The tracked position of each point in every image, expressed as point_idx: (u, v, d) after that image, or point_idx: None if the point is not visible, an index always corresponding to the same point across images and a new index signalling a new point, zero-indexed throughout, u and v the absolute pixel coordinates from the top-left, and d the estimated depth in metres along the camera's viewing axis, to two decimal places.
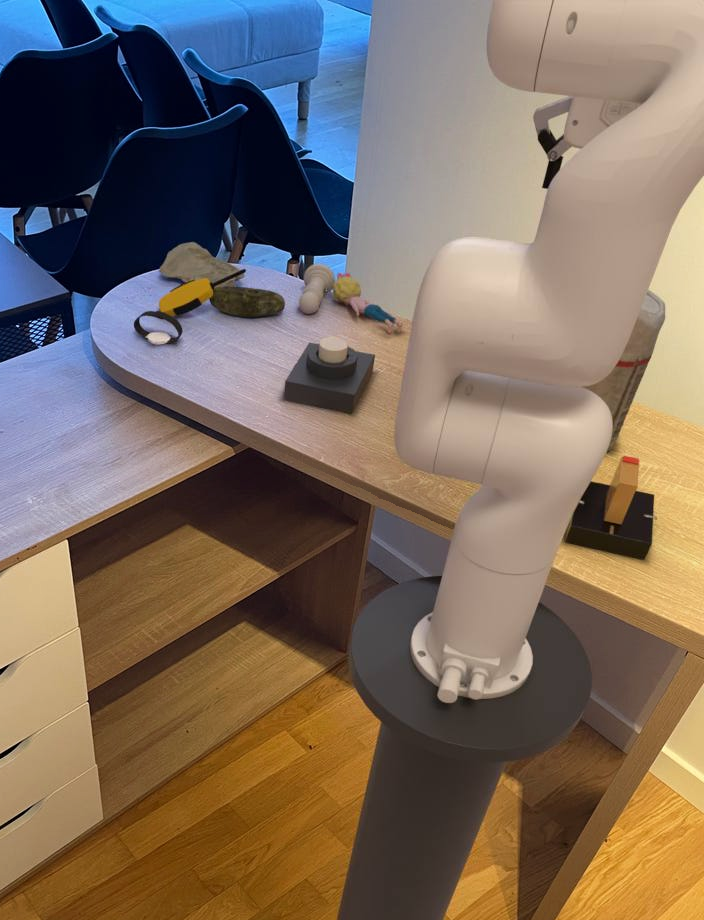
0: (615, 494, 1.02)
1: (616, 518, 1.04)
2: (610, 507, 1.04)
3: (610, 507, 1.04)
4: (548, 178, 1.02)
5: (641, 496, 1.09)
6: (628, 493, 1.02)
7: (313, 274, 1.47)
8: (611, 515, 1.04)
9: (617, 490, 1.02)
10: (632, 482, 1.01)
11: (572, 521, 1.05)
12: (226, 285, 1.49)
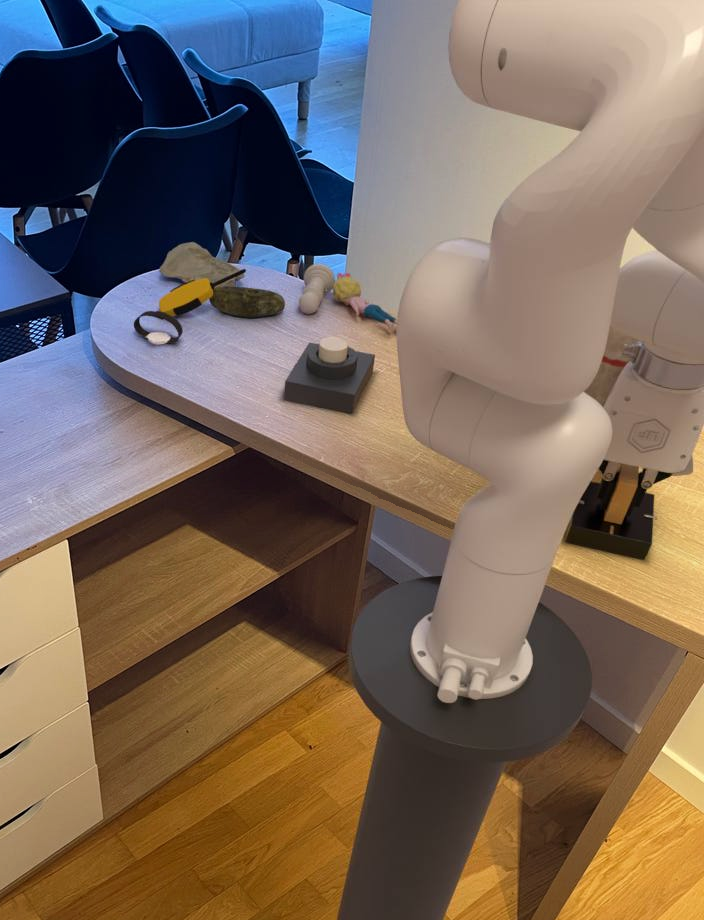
0: (615, 494, 1.02)
1: (616, 518, 1.04)
2: (610, 507, 1.04)
3: (610, 507, 1.04)
4: (603, 492, 1.05)
5: None
6: (628, 493, 1.02)
7: (313, 274, 1.47)
8: (611, 515, 1.04)
9: (617, 490, 1.02)
10: (632, 482, 1.01)
11: (572, 521, 1.05)
12: (226, 285, 1.49)
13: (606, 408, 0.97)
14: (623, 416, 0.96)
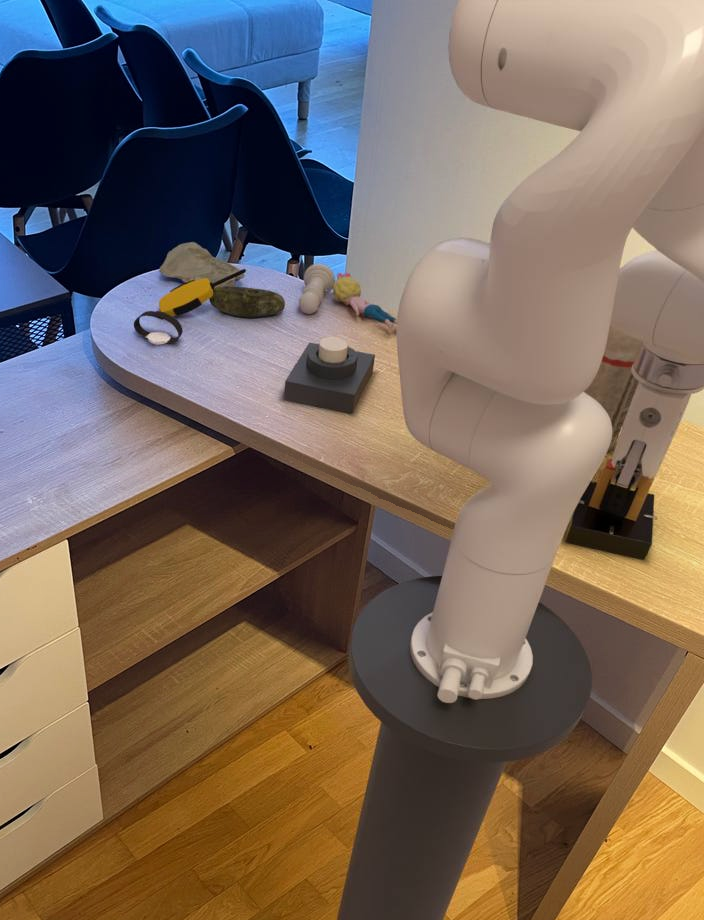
0: None
1: None
2: (641, 507, 1.04)
3: (641, 506, 1.04)
4: (624, 503, 1.03)
5: None
6: None
7: (313, 274, 1.47)
8: None
9: None
10: None
11: (572, 521, 1.05)
12: (226, 285, 1.49)
13: (660, 435, 0.94)
14: (674, 430, 0.94)
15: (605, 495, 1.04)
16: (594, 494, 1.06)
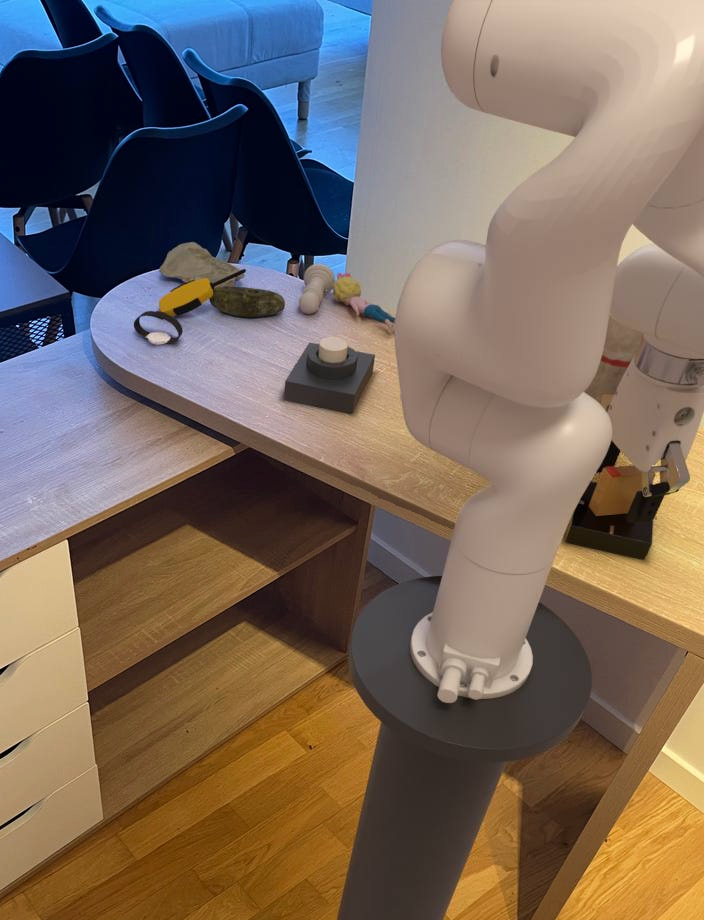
0: None
1: None
2: None
3: None
4: None
5: None
6: None
7: (313, 274, 1.47)
8: None
9: None
10: None
11: (572, 521, 1.05)
12: (226, 285, 1.49)
13: (693, 429, 0.93)
14: None
15: (635, 507, 0.99)
16: (601, 504, 1.04)
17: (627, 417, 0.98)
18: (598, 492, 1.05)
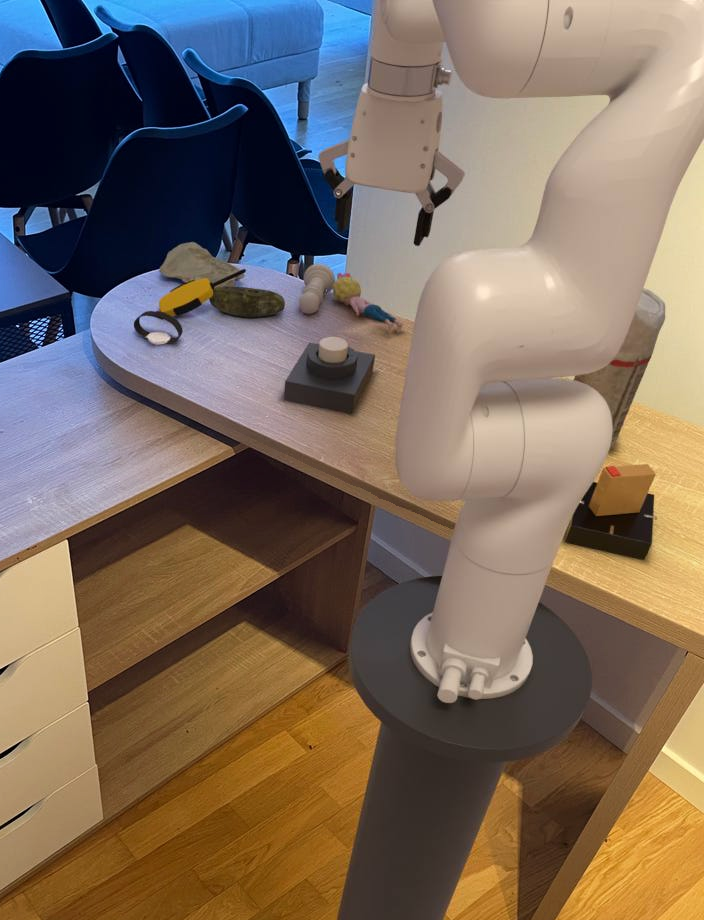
0: None
1: None
2: (644, 498, 1.05)
3: None
4: None
5: None
6: None
7: (313, 274, 1.47)
8: None
9: None
10: (646, 467, 1.03)
11: (572, 521, 1.05)
12: (226, 285, 1.49)
13: (440, 133, 1.03)
14: None
15: (421, 228, 1.08)
16: (601, 504, 1.04)
17: (384, 151, 1.02)
18: (598, 492, 1.05)
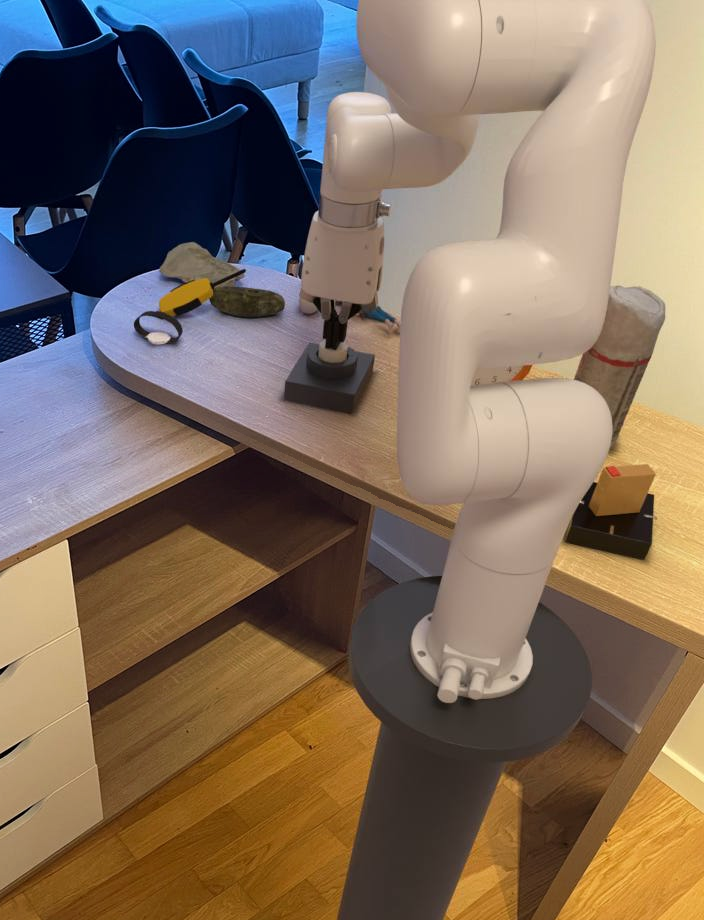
0: None
1: None
2: (644, 498, 1.05)
3: None
4: None
5: None
6: None
7: None
8: None
9: None
10: (646, 467, 1.03)
11: (572, 521, 1.05)
12: (226, 285, 1.49)
13: (383, 253, 1.16)
14: None
15: (337, 336, 1.23)
16: (601, 504, 1.04)
17: (334, 270, 1.16)
18: (598, 492, 1.05)
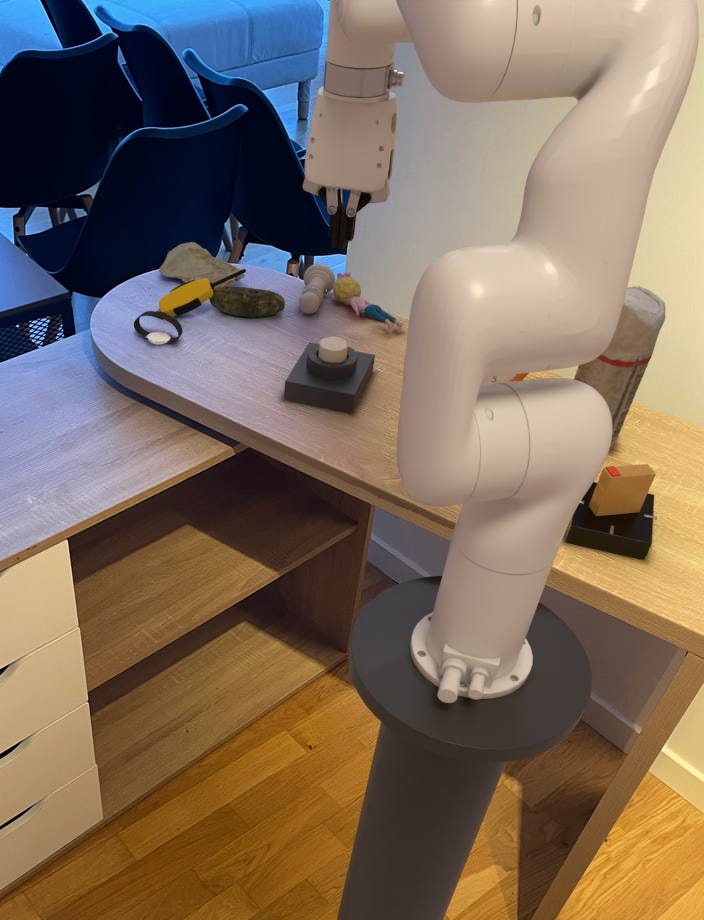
0: None
1: None
2: (644, 498, 1.05)
3: None
4: None
5: None
6: None
7: (313, 274, 1.47)
8: None
9: None
10: (646, 467, 1.03)
11: (572, 521, 1.05)
12: (226, 285, 1.49)
13: None
14: None
15: (345, 232, 1.12)
16: (601, 504, 1.04)
17: (341, 152, 1.05)
18: (598, 492, 1.05)
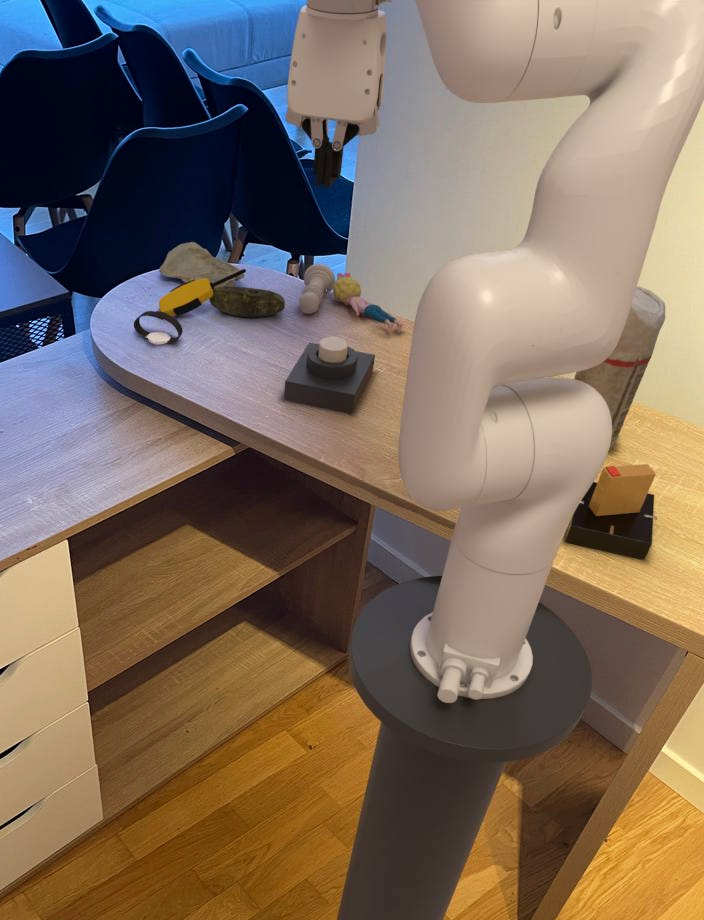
0: None
1: None
2: (644, 498, 1.05)
3: None
4: None
5: None
6: None
7: (313, 274, 1.47)
8: None
9: None
10: (646, 467, 1.03)
11: (572, 521, 1.05)
12: (226, 285, 1.49)
13: (385, 57, 0.97)
14: None
15: (331, 168, 1.04)
16: (601, 504, 1.04)
17: (326, 77, 0.97)
18: (598, 492, 1.05)
